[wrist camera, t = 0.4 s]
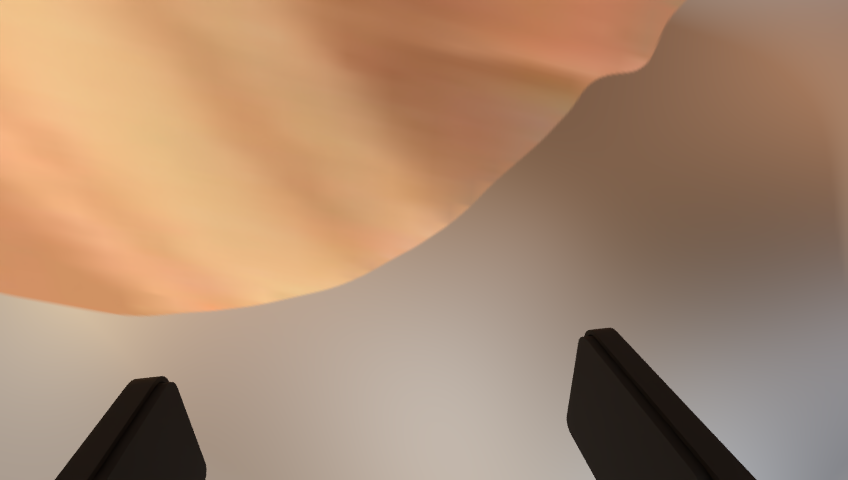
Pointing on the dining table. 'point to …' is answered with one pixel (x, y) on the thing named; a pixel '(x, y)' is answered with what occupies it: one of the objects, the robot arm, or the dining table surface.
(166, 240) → the dining table surface
